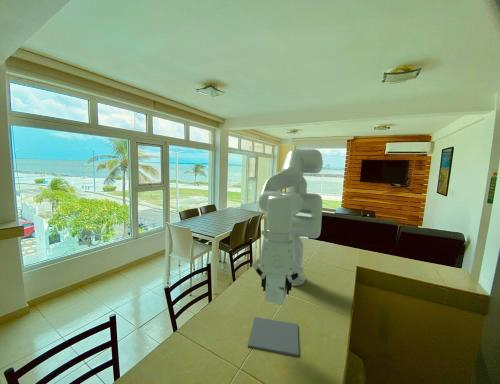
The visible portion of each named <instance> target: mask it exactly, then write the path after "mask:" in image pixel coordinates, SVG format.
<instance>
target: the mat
mask: <svg viewBox="0 0 500 384" xmlns="http://www.w3.org/2000/svg"><path fill="white" fill-rule="evenodd" d="M248 339H249V340H248V344H247V347H248V348H254V349H259V350H263V351H268V352H269V351H270V352H272V353H273V352H274V353H279V354H286V355H290V356H294V357H299V354H300V353H299V329H298V323H295V322H288V321H281V320H275V319H270V318H263V317H258V316H254V318H253V323H252V327H251V331H250V335H249V338H248Z"/></svg>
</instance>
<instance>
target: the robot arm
mask: <svg viewBox="0 0 500 384" xmlns="http://www.w3.org/2000/svg"><path fill="white" fill-rule="evenodd" d="M323 165H324V162H323V156H322V152H321V151H320V150H318V149H315V148H296V149H291V150H289V151H288V152H287V153H286V155H285V157H284V161H283V165H282V167H281V170H280V171H278V172H276V173H274V174H273V175H271V176H270V177H269V178H268V179H267V180H266V181H265V182H264V184H263V186H262V189H261V190H260V191H261V192H260V194H259V198H258V206H259V209H260V210H261V211H262V212H264V213H266V229H264V230H263V229H262V230H261V235H262V236H264V238H263V240H262V245H261V251H260V252H261V253H260V257H259V258H257V259H256V260H255V261H253V262H252V263H251V267H252V268H253V270H255V272H256V274H257V275H258V276H259V277H260V279H261V286H260V287H261V288H262V291H263V292H265V289H266V273H270V274H278V275H286V276H287V289H286V296H287V295H288V296H289V294H290V291H291V292H292V287H294V286H295V287H296V286H301V285H303V284H304V283H305V281H306V278H305V275H303V273H304V268H303V261H304V243H303V241H302V238H308V239H309V238H310V239H317V238H319V237H320V235H321V230H322V220H323V219H322V217H323V198H322V196H321V195H320V194H317V193H309V192H307V188H308V182H307V180H306V179H305V177H304V174H319V173H320V172H321V171H322V169H323ZM287 188H288V191H283V190H284V189H287ZM299 213H300V214H309V215H311V216H306V215H298V214H299ZM300 237H302V238H300Z"/></svg>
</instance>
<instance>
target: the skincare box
mask: <svg viewBox="0 0 500 384" xmlns="http://www.w3.org/2000/svg"><path fill="white" fill-rule="evenodd" d="M286 298H287V276H286V275H278V274H270V273H266V289H265V291H264V301H265V302H268V303H271V304H275V305H279V306H284V304H285V300H286Z"/></svg>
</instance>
